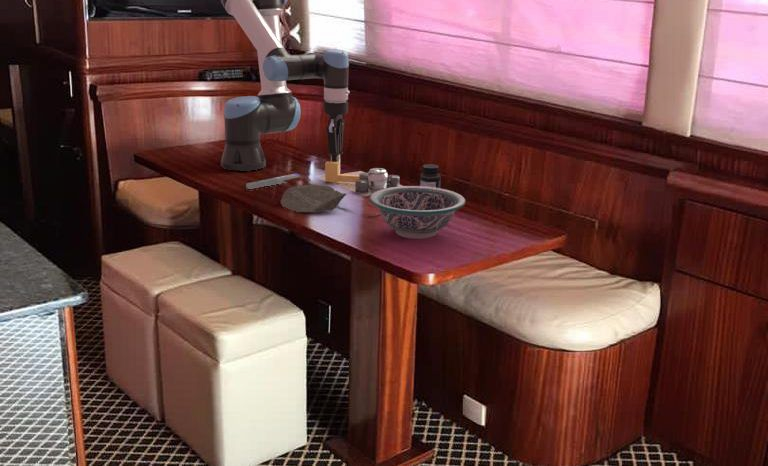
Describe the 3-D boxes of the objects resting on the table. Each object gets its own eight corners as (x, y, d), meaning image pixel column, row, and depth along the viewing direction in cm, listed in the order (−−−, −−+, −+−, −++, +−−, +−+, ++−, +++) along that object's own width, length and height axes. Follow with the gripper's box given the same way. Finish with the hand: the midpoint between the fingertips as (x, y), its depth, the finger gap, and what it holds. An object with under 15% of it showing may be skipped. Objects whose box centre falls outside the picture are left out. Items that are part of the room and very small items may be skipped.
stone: (267, 198, 246) (304, 175, 254) (271, 211, 248) (307, 187, 256) (312, 213, 233) (350, 188, 242) (316, 226, 235) (353, 201, 244)
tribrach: (317, 180, 274) (317, 158, 271) (360, 173, 283) (361, 152, 281) (364, 199, 254) (364, 175, 252) (408, 191, 264) (409, 168, 261)
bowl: (424, 255, 207) (425, 217, 204) (349, 232, 222) (349, 197, 219) (482, 232, 225) (484, 198, 222) (409, 213, 241) (410, 181, 238)
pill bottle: (428, 198, 256) (430, 162, 253) (444, 202, 252) (445, 166, 249) (414, 201, 252) (416, 165, 249) (430, 206, 248) (431, 169, 245)
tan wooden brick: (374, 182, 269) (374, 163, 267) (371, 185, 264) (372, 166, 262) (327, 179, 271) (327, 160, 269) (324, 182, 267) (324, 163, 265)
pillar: (246, 183, 261) (296, 173, 275) (246, 190, 262) (296, 179, 276) (250, 184, 260) (300, 174, 273) (250, 191, 260) (300, 181, 274)
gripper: (342, 104, 257) (341, 180, 264) (352, 98, 269) (351, 170, 276) (318, 103, 258) (318, 178, 266) (330, 96, 270) (329, 168, 278)
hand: (335, 174), depth 271 cm, fingers closed
